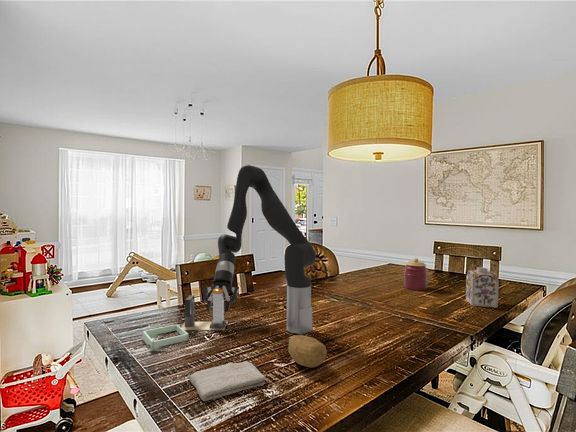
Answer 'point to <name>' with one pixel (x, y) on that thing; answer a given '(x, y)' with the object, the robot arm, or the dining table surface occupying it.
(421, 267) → the canister
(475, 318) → the dining table surface
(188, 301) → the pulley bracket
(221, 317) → the pin
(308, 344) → the potato
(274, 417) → the dining table surface
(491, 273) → the decorative jar
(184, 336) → the tray
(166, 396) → the dining table surface
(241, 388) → the washcloth
